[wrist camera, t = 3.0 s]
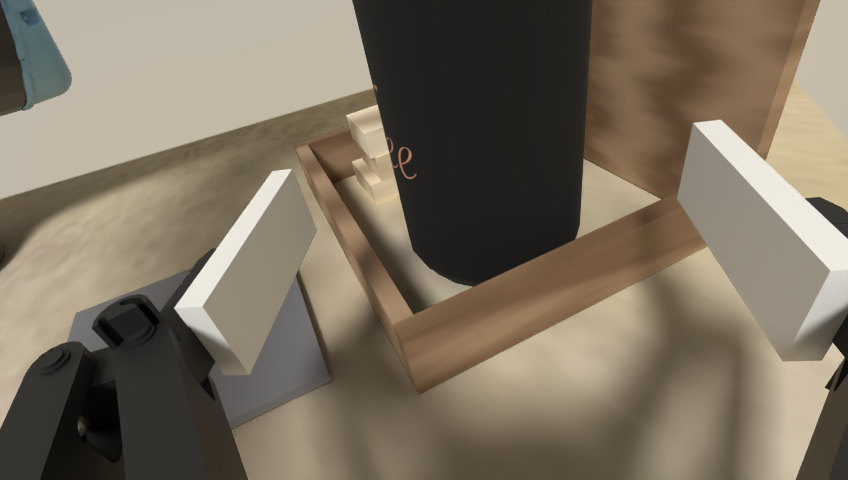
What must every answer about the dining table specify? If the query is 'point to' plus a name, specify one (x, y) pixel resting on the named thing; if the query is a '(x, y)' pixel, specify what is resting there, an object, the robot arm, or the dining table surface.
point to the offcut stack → (372, 155)
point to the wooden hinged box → (608, 148)
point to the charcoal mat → (274, 368)
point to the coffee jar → (482, 124)
